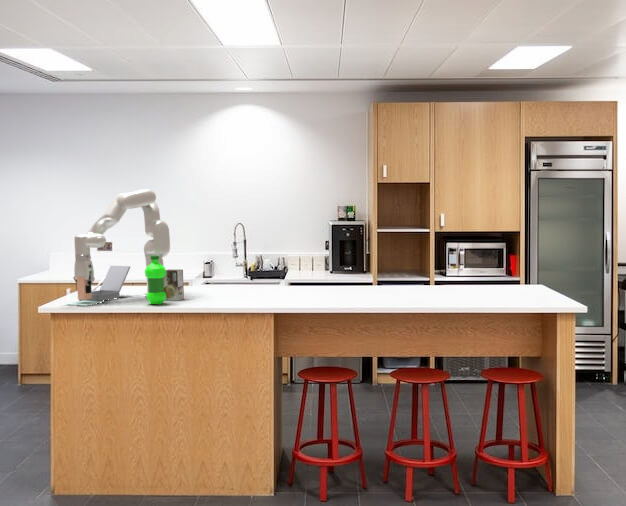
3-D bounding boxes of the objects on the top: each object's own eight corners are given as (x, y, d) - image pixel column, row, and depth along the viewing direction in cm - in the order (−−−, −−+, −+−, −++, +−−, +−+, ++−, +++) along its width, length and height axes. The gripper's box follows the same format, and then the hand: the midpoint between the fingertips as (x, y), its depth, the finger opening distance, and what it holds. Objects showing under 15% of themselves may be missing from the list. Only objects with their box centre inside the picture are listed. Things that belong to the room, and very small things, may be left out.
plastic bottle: (167, 304, 368) (166, 256, 366) (146, 306, 365) (144, 257, 363) (166, 302, 378) (164, 254, 376) (145, 303, 375) (143, 255, 373)
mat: (104, 302, 380) (104, 301, 380) (84, 306, 368) (84, 305, 368) (85, 301, 387) (85, 300, 387) (65, 305, 375) (65, 303, 375)
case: (131, 296, 403) (130, 266, 402) (98, 302, 381) (96, 270, 380) (111, 295, 411) (110, 265, 409) (77, 301, 389) (76, 269, 388)
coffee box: (184, 299, 388) (183, 269, 387) (178, 300, 382) (177, 270, 381) (169, 298, 391) (168, 269, 390) (163, 300, 385) (162, 270, 384)
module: (92, 298, 378) (90, 274, 377) (84, 299, 374) (83, 275, 373) (85, 298, 381) (84, 274, 380) (77, 299, 377) (76, 275, 376)
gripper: (100, 258, 375) (101, 292, 376) (77, 257, 383) (78, 291, 385) (89, 259, 368) (90, 294, 370) (65, 258, 377) (67, 292, 378)
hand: (84, 292), depth 377 cm, fingers closed on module, 4 cm apart
